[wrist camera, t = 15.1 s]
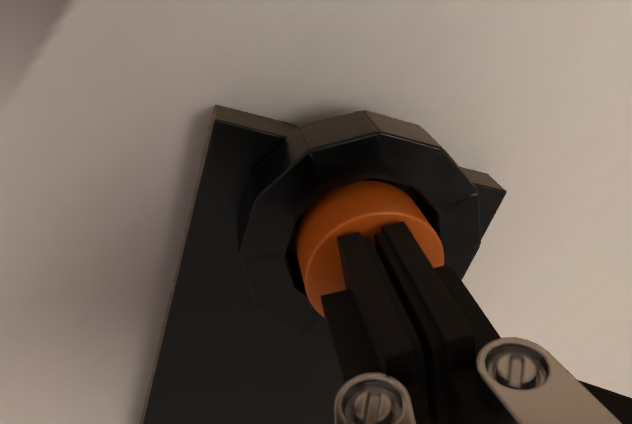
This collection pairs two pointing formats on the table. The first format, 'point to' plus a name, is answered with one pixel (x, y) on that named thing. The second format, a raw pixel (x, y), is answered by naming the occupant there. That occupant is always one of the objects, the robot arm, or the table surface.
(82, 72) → the table surface
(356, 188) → the button
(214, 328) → the button housing
